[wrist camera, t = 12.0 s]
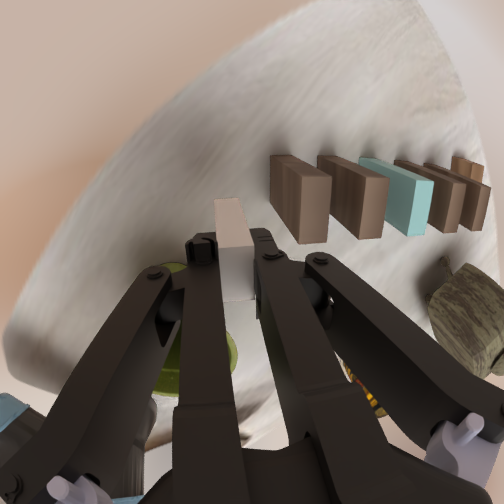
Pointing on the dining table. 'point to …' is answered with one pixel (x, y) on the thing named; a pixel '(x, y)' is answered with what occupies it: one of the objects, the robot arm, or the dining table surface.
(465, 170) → the block
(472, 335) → the tabletop clock
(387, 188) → the domino
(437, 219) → the domino
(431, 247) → the dining table surface
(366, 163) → the teal domino
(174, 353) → the plant pot
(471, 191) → the domino
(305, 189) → the domino
